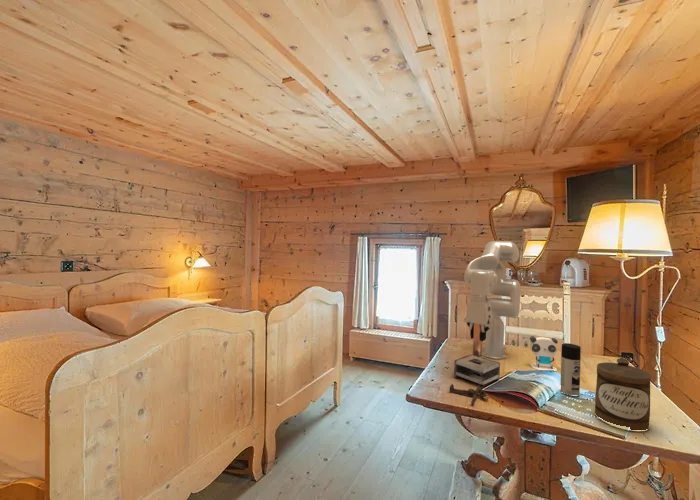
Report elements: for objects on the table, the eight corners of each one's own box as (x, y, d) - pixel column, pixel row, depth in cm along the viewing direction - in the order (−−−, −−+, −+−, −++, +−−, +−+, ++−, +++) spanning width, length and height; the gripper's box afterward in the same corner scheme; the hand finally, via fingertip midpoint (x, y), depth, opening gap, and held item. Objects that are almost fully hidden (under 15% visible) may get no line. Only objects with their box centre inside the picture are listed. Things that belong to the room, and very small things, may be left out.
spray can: (573, 398, 134) (575, 348, 134) (556, 391, 140) (558, 344, 140) (582, 395, 138) (584, 346, 137) (565, 388, 144) (567, 342, 143)
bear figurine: (454, 377, 147) (490, 381, 140) (455, 387, 146) (491, 391, 139) (445, 392, 131) (485, 398, 124) (445, 404, 131) (485, 409, 124)
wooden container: (596, 423, 116) (599, 360, 115) (592, 406, 128) (595, 349, 128) (654, 438, 108) (657, 369, 107) (644, 418, 120) (646, 356, 120)
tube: (475, 353, 154) (476, 315, 154) (483, 355, 151) (485, 317, 151) (470, 354, 151) (471, 317, 151) (479, 357, 148) (480, 318, 148)
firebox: (470, 370, 161) (471, 354, 161) (499, 380, 151) (500, 362, 150) (453, 377, 153) (454, 360, 152) (483, 388, 142) (483, 369, 142)
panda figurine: (531, 369, 165) (532, 339, 164) (527, 362, 176) (528, 333, 175) (559, 373, 161) (561, 342, 161) (553, 365, 172) (554, 336, 172)
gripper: (501, 300, 147) (500, 342, 147) (467, 295, 160) (465, 333, 160) (493, 302, 142) (491, 345, 142) (457, 296, 155) (456, 336, 155)
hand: (477, 338), depth 151 cm, fingers closed on tube, 4 cm apart
